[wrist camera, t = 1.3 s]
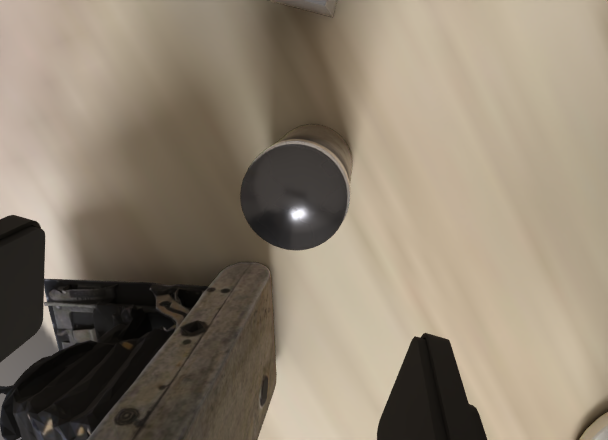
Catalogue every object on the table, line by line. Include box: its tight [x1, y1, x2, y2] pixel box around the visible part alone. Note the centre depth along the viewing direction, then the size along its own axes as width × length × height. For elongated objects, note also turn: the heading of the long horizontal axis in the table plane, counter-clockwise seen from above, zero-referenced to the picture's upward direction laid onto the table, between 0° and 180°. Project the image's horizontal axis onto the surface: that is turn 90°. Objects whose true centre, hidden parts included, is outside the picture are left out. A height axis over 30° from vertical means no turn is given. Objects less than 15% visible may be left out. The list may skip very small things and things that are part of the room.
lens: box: [241, 124, 352, 250], centre depth 24 cm, size 5×5×8 cm
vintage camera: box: [0, 262, 276, 440], centre depth 24 cm, size 10×16×20 cm, turn 91°
